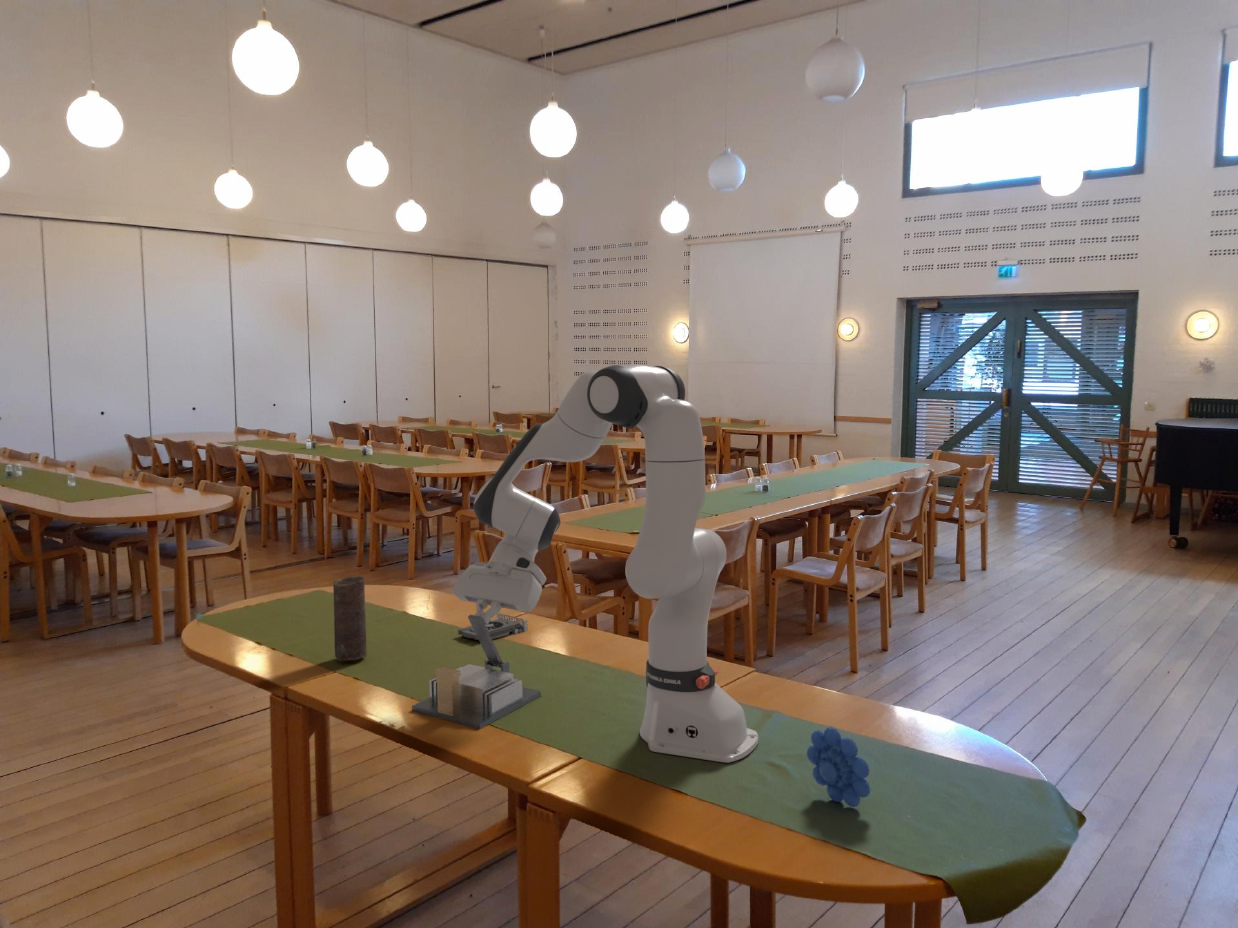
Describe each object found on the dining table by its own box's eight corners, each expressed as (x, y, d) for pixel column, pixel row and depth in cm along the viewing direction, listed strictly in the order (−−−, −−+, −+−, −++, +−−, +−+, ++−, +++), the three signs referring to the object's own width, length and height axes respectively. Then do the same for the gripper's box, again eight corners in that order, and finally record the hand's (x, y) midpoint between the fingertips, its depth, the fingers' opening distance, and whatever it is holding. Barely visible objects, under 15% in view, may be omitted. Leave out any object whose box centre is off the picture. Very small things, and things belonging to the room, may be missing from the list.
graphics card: (500, 611, 242) (528, 618, 234) (500, 624, 243) (528, 632, 234) (449, 625, 230) (477, 633, 222) (450, 639, 231) (478, 647, 222)
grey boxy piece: (540, 695, 188) (540, 651, 187) (480, 728, 171) (479, 680, 170) (475, 680, 197) (475, 638, 196) (412, 710, 180) (410, 664, 179)
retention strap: (490, 666, 190) (493, 662, 190) (502, 669, 188) (505, 664, 189) (466, 617, 182) (470, 613, 183) (478, 620, 180) (482, 615, 181)
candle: (368, 662, 209) (365, 580, 207) (336, 666, 206) (333, 583, 204) (365, 653, 216) (362, 573, 214) (334, 656, 214) (330, 576, 211)
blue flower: (791, 797, 144) (792, 726, 142) (815, 783, 148) (817, 715, 147) (853, 824, 135) (855, 749, 134) (877, 809, 140) (879, 736, 138)
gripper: (465, 552, 194) (435, 606, 187) (540, 563, 183) (511, 620, 176) (478, 568, 198) (450, 621, 191) (553, 580, 188) (525, 636, 180)
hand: (480, 621), depth 183 cm, fingers closed
